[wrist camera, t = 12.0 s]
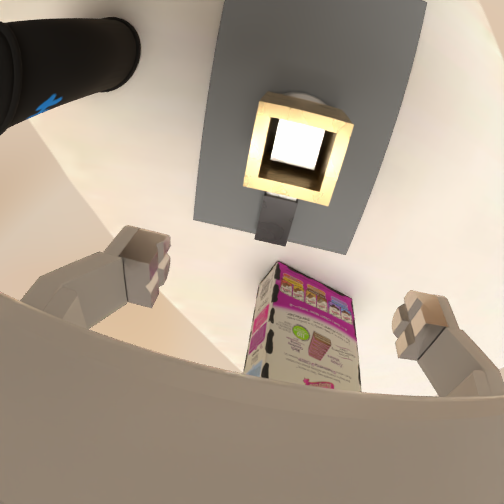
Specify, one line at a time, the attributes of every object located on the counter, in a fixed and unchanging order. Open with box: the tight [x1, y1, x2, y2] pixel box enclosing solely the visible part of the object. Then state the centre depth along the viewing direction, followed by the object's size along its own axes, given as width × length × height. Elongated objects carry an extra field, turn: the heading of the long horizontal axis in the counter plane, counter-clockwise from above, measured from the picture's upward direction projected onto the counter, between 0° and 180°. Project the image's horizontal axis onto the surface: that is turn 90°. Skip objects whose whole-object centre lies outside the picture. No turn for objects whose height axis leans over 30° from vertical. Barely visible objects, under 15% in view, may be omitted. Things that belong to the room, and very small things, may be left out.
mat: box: [193, 0, 427, 255], centre depth 25 cm, size 28×17×1 cm, turn 170°
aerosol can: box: [0, 17, 140, 135], centre depth 16 cm, size 8×8×20 cm
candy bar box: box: [243, 262, 361, 392], centre depth 31 cm, size 11×5×16 cm, turn 62°
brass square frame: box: [243, 91, 354, 206], centre depth 22 cm, size 6×6×6 cm
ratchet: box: [255, 92, 326, 246], centre depth 27 cm, size 15×7×5 cm, turn 170°
